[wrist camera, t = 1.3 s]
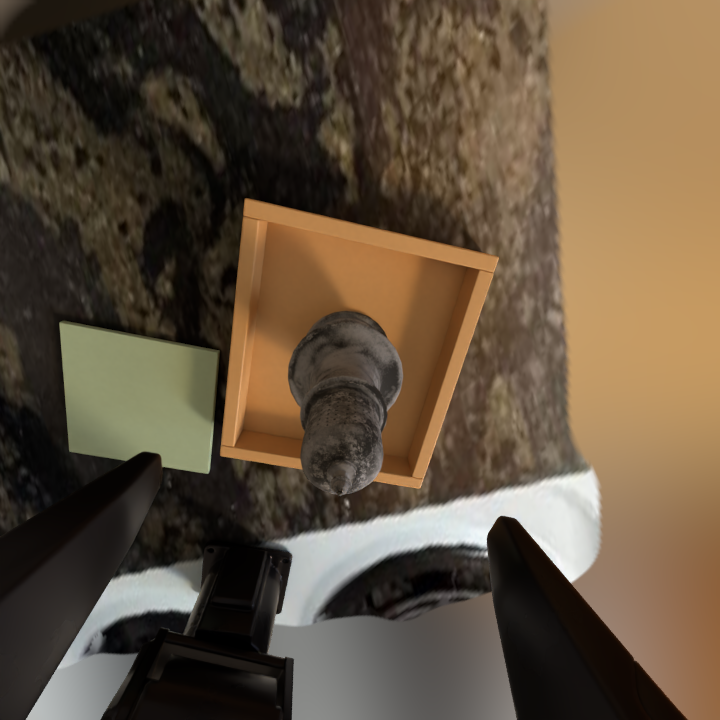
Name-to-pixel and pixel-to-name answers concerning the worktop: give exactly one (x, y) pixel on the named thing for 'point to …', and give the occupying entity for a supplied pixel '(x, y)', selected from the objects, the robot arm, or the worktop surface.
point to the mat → (138, 396)
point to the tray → (346, 293)
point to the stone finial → (344, 399)
